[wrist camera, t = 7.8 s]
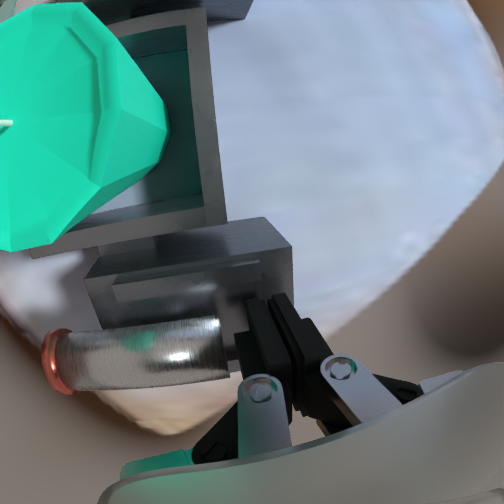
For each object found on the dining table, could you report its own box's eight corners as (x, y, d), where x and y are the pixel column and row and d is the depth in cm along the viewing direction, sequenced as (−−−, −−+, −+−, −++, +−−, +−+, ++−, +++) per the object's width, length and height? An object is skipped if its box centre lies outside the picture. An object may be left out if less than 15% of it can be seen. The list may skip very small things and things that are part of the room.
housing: (46, -6, 8) (10, -38, 3) (236, -47, 10) (254, -98, 4) (92, 331, 17) (69, 388, 12) (270, 305, 19) (298, 361, 14)
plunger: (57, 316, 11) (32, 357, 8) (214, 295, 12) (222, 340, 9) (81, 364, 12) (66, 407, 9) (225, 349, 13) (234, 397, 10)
